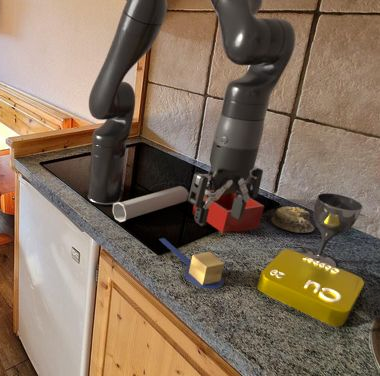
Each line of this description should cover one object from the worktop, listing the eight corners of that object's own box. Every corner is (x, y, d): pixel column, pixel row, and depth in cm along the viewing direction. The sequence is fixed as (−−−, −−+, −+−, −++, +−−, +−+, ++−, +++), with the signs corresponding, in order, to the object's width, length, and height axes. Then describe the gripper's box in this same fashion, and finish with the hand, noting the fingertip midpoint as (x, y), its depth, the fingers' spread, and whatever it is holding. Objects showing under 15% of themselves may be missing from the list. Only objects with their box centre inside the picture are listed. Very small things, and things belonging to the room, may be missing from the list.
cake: (269, 230, 105) (273, 211, 103) (271, 214, 113) (274, 196, 111) (315, 237, 100) (319, 218, 98) (313, 221, 108) (317, 202, 106)
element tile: (359, 295, 81) (368, 276, 79) (338, 333, 72) (348, 312, 70) (279, 262, 91) (285, 244, 89) (252, 291, 81) (258, 272, 79)
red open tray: (192, 213, 110) (196, 192, 108) (226, 208, 114) (231, 187, 111) (221, 235, 101) (227, 212, 98) (258, 228, 104) (264, 205, 101)
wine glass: (303, 246, 97) (323, 190, 91) (342, 260, 92) (366, 202, 86) (292, 259, 92) (313, 200, 86) (333, 275, 87) (357, 214, 81)
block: (188, 272, 85) (192, 255, 83) (205, 268, 87) (209, 251, 85) (202, 285, 81) (206, 267, 80) (220, 281, 83) (224, 263, 81)
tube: (176, 183, 119) (111, 201, 107) (191, 184, 114) (124, 203, 102) (178, 201, 120) (113, 220, 108) (193, 202, 115) (127, 223, 103)
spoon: (147, 243, 96) (147, 240, 96) (174, 238, 99) (174, 235, 98) (200, 295, 80) (201, 291, 80) (231, 287, 82) (231, 284, 82)
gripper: (251, 131, 77) (233, 207, 84) (189, 137, 72) (175, 216, 79) (284, 143, 70) (261, 224, 77) (218, 151, 66) (200, 236, 73)
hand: (218, 220), depth 78 cm, fingers open, 8 cm apart
